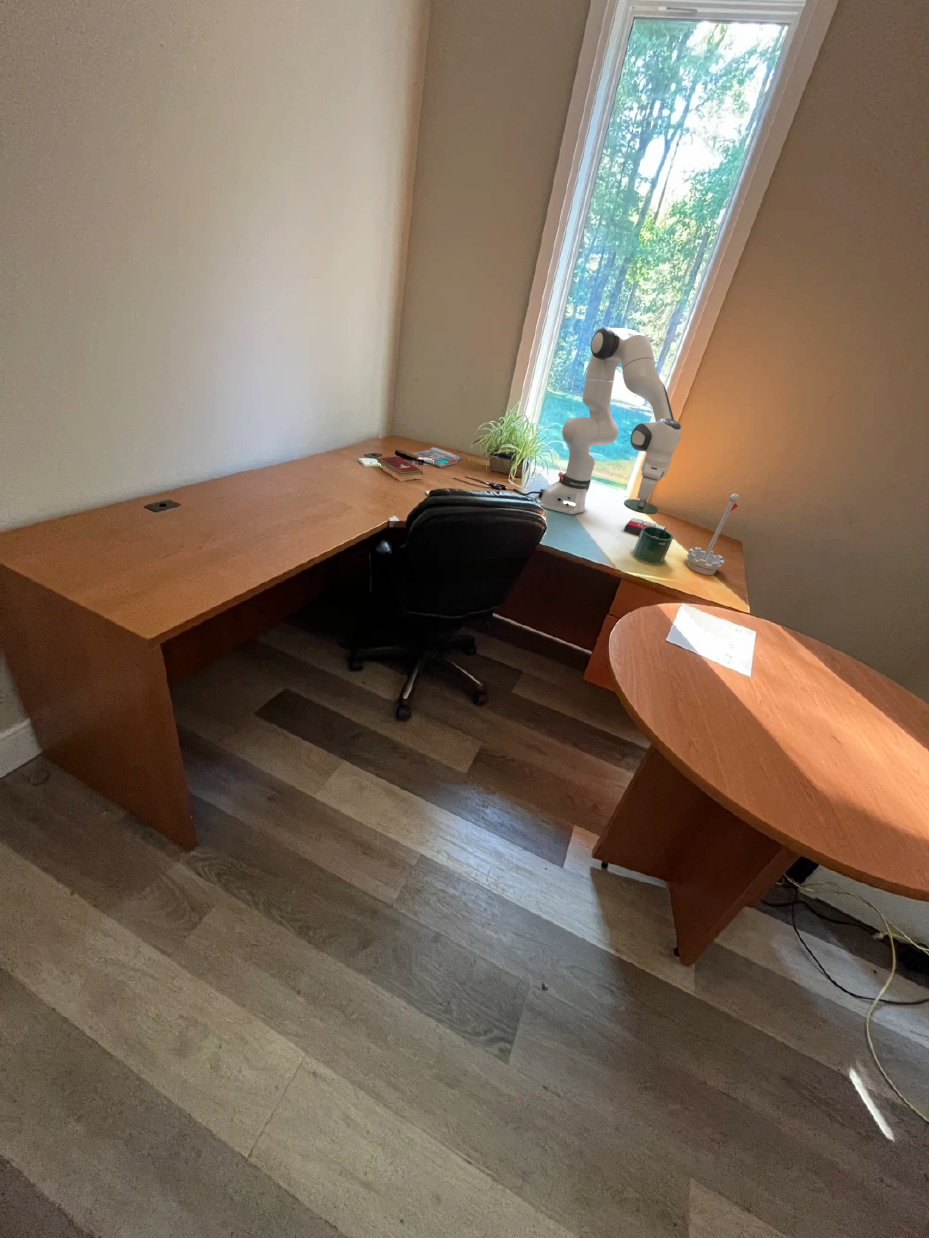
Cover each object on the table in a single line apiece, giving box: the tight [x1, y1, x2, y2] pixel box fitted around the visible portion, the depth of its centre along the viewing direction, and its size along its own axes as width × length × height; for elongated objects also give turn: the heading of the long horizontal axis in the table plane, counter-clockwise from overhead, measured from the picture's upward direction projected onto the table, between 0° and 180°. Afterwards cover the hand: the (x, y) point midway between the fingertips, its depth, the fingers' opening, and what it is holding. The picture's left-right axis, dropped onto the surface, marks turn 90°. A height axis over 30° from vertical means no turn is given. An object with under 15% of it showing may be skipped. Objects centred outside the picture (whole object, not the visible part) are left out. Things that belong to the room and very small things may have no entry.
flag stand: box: [686, 493, 740, 576], centre depth 182 cm, size 13×13×30 cm
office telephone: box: [412, 446, 461, 469], centre depth 253 cm, size 23×3×20 cm
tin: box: [632, 525, 674, 565], centre depth 188 cm, size 12×17×10 cm
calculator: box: [624, 517, 667, 537], centre depth 209 cm, size 11×4×15 cm
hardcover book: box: [376, 455, 424, 477], centre depth 228 cm, size 12×21×4 cm, turn 39°
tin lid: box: [623, 498, 659, 515], centre depth 182 cm, size 13×13×5 cm
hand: (641, 504), depth 182 cm, fingers closed on tin lid, 2 cm apart
